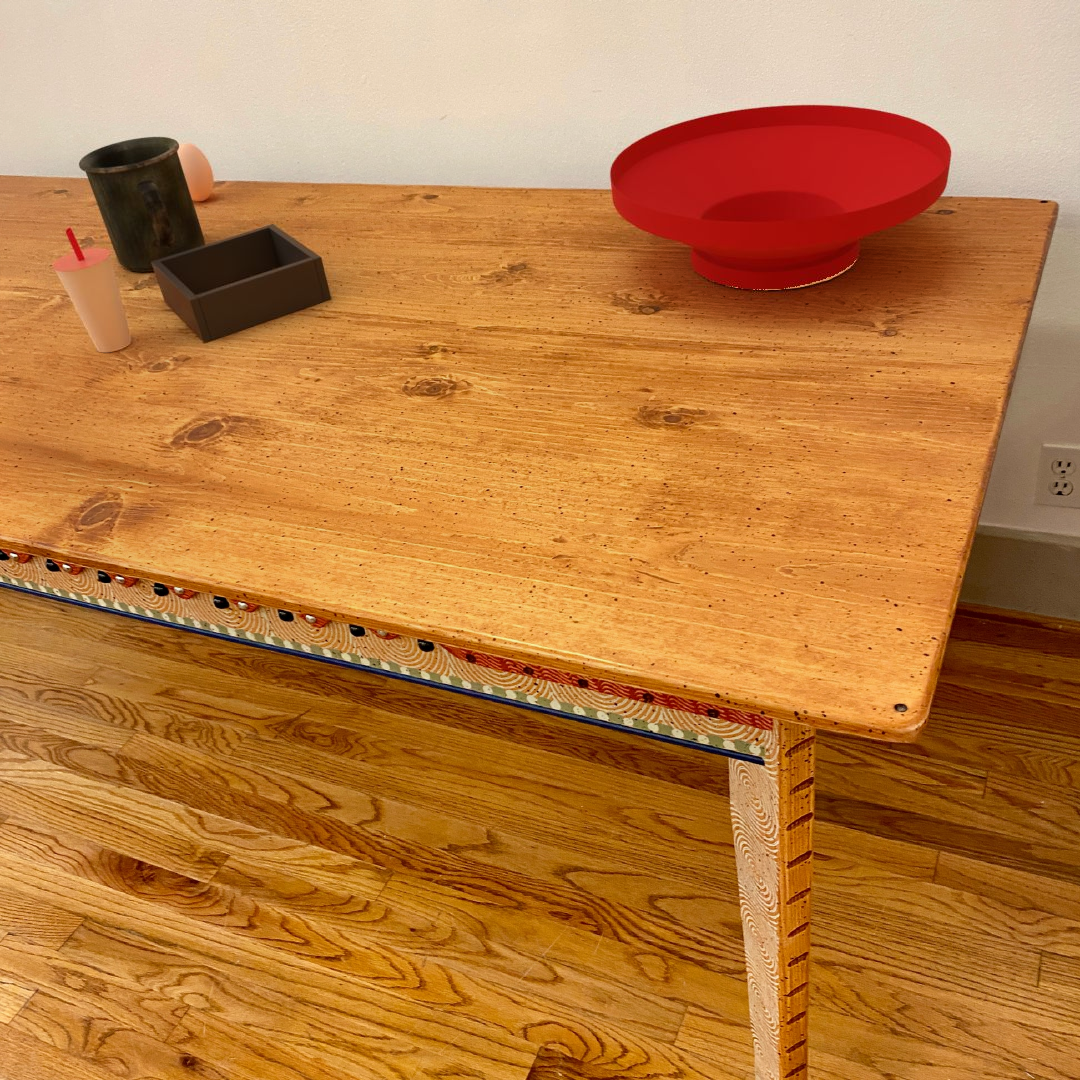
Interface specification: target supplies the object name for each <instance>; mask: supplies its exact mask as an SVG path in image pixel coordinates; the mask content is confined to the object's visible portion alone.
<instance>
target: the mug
mask: <svg viewBox="0 0 1080 1080" xmlns="http://www.w3.org/2000/svg"><path fill="white" fill-rule="evenodd" d="M179 146H180V144H179V142H178V141H177V140H176V139H174V138H171V137H168V136H167V137H166V136H145V137H139V138H131V139H126V140H122V141H118V142H114V143H111V144H108V145H104V146H102V147H99V148H97V149H95V150H92V151H90V152H89V153H87V154H85V155H84V156H83V157H81V158H80V160H79V162H78V167H79V169H80V170H81V171H83V172H85V174H86V177H87V179H88V183H89V186H90V188H91V190H92V193H93V197H94V199H95V202H96V204H97V207H98V210H99V213H100V215H101V218H102V221H103V224H104V226H105V229H106V232H107V234H108V237H109V239H110V243H111V246H112V248H113V251H114V254H115V256H116V259H117V262H118V264H119V265H121V266H122V267H123V268H124V269H126V270H128V271H131V272H154V269H153V266H152V264H151V262H152V261H155V260H159V259H161V258H164V257H168V256H171V255H174V254H177V253H181V252H184V251H187V250H190V249H193V248H197V247H200V246H203V245H206V239H205V236H204V233H203V230H202V227H201V223H200V221H199V217H198V214H197V211H196V208H195V204H194V202H193V201H194V200H192V198H191V194H190V191H189V188H188V185H187V182H186V178H185V175H184V172H183V169H182V166H181V162H180V159H179V156H178V152H177V151H178V149H179Z"/></svg>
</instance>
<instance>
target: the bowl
mask: <svg viewBox="0 0 1080 1080" xmlns="http://www.w3.org/2000/svg"><path fill="white" fill-rule="evenodd" d="M951 160H952V148H951V144H950V143H949V142H948V140H947V139H946V137H945V136H943V134H941V133H940V132H939V131H937V130H936V129H935V128H933V127H932V126H929V125H928V124H926V123H923V122H921V121H919V120H916V119H913V118H911V117H907V116H904V115H901V114H898V113H893V112H889V111H884V110H879V109H872V108H867V107H866V108H865V107H857V106H849V105H833V104H832V105H831V104H794V105H793V104H792V105H791V104H790V105H785V104H784V105H772V106H760V107H752V108H745V109H744V108H743V109H737V110H729V111H725V112H717V113H713V114H709V115H703V116H700V117H697V118H692V119H688V120H684V121H681V122H678V123H675V124H672V125H669V126H666V127H664V128H661V129H658V130H656V131H653V132H651V133H649V134H647V135H645V136H643V137H641V138H640V139H638V140H636V141H634V142H632V143H631V144H630V145H628V146H627V147H625V148H624V149H623V150H622V151H621V152H620V153H619V154H617V156H616V158H615V159H614V160H613V161H612V163H611V167H610V170H609V177H610V179H609V180H610V186H611V187H610V188H611V197H612V198H611V199H612V203H613V207H614V208H615V211H616V212H617V213H618V214H619V215H620V216H621V217H622V219H623V220H625V221H626V222H628V223H629V224H631V225H632V226H634V227H635V228H637V229H639V230H641V231H644V232H646V233H647V234H651V235H654V236H656V237H659V238H663V239H667V240H670V241H674V242H680V243H683V244H685V245H686V246H688V247H690V264H691V267H692V269H693V270H694V271H695V273H697V274H698V275H699V274H700V275H699V276H701V275H702V276H703V277H706V278H707V279H708V280H711V281H714V282H717V283H718V284H717V283H716V284H717V285H720V284H724V285H727V286H731V287H732V286H733V287H738V288H741V289H740V290H743V289H752V290H751V291H753V289H755V290H757V289H758V290H759V289H761V290H763V289H764V290H765V289H784V288H785V289H786V288H788V287H789V288H790V287H795V286H796V287H797V286H800V285H805V284H810V283H812V282H816V281H820V280H823V279H826V278H827V277H831V276H834V275H835V274H838V273H839V272H841V271H843V270H845V269H846V268H847V267H849V266H850V265H852V264H853V263H854V261H855V260H856V259H857V258H858V255H859V256H860V254H859V252H861V251H860V240H862V239H863V238H865V237H867V236H869V235H872V234H874V233H877V232H881V231H884V230H887V229H889V228H893V227H895V226H899V225H900V224H903V223H905V222H907V221H910V220H911V219H913V218H915V217H916V216H918V215H920V214H922V213H924V212H925V211H926V210H928V209H929V208H930V207H931V206H933V205H934V204H935V203H936V202H937V201H938V200H939V199H940V198H941V197H942V195H943V194H944V192H945V190H946V189H947V184H948V181H949V173H950V166H951ZM858 259H859V258H858ZM702 276H701V277H702ZM703 277H702V278H703ZM708 280H707V281H708ZM711 281H710V282H711ZM714 282H713V283H714ZM727 286H726V287H727ZM742 288H743V289H742Z"/></svg>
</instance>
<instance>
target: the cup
mask: <svg viewBox="0 0 1080 1080" xmlns="http://www.w3.org/2000/svg"><path fill="white" fill-rule="evenodd" d="M65 235H66V237H67V239H68V242H69V243H70V246H71V248H72V250H73V252H70V253H67V254H65V255H63V256H61V257H59V258H58V259H56V260H55V261H54V262H53V263H52V265H51V267H52V269H53V270H55V273H56V275H57V276H58V278H59V280H60V282H61V284H62V286H63V287H64V290H65V291H66V294H67V296H68V298H69V299H70V301H71V303H72V305H73V307H74V309H75V311H76V312H77V315H78V317H79V318H80V321H81V323H82V324H83V326H84V328H85V330H86V332H87V334H88V335H89V337H90V339H91V341H92V343H93V344H94V347H95V349H96V351H97V352H99V353H113V352H117V351H120V350H123V349H124V348H126V347H128V346H129V345H131V343H132V341H133V340H132V336H131V333H130V328H129V322H128V319H127V316H126V312H125V311H126V310H125V308H124V303H123V300H122V297H121V292H120V289H119V285H118V281H117V278H116V274H115V270H114V266H113V263H112V259H111V251H110V250H109V249H108V248H104V247H103V248H102V247H93V248H86V249H81V247H80V245H79V243H78V240H77V238H76V236H75V234H74V232H73V229H72V227H70V226H69V227H68V228H66V230H65Z"/></svg>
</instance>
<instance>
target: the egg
mask: <svg viewBox="0 0 1080 1080" xmlns="http://www.w3.org/2000/svg"><path fill="white" fill-rule="evenodd" d="M177 152H178V156H179V159H180V162H181V166H182V169H183V172H184V175H185V178H186V182H187V185H188V188H189V191H190V194H191V198H192V201H195V202H203V201H206V200H207V199H209V197H210V196H211V194H212V192H213V189H214V183H215V180H214V173H213V169H212V166H211V164H210V162H209V159H208V158H207V157H206V156H205V154H204V153H203V152H202V150H201V149H200V148H199V147H197V146H196V145H195V144H193V143H191V142H182V143H181V144H179V149H178V151H177Z"/></svg>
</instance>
